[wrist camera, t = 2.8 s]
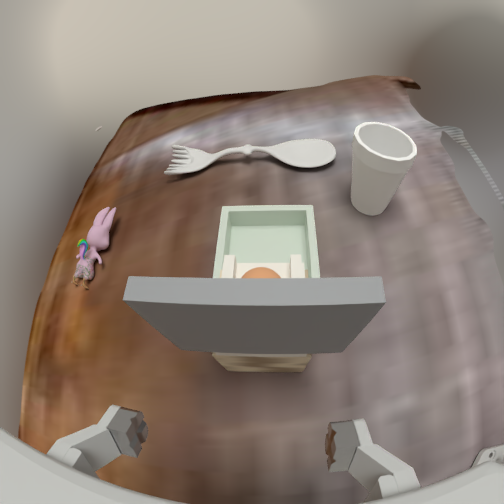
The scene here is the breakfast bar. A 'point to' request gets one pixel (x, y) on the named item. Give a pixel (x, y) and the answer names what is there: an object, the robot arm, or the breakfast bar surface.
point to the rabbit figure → (94, 245)
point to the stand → (263, 361)
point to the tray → (268, 235)
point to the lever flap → (258, 310)
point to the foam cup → (379, 165)
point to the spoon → (288, 152)
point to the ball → (261, 273)
